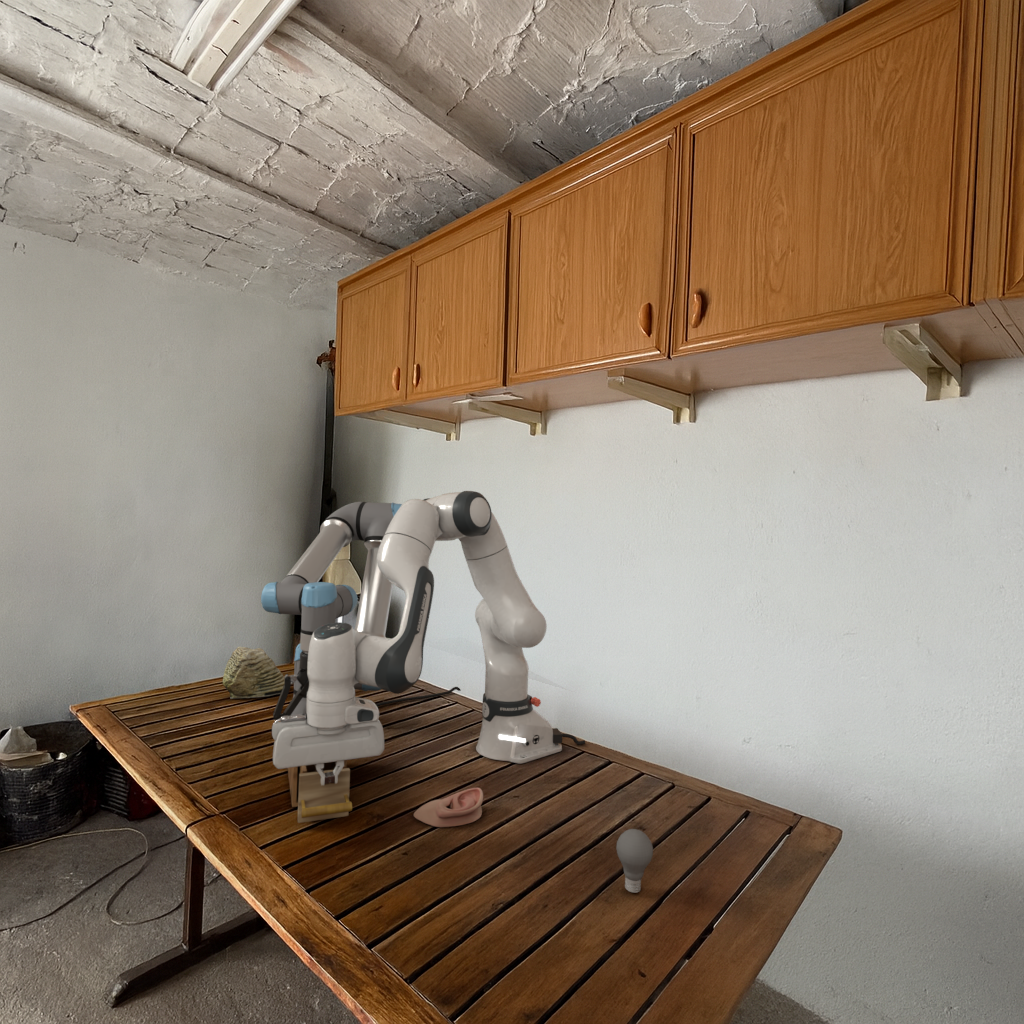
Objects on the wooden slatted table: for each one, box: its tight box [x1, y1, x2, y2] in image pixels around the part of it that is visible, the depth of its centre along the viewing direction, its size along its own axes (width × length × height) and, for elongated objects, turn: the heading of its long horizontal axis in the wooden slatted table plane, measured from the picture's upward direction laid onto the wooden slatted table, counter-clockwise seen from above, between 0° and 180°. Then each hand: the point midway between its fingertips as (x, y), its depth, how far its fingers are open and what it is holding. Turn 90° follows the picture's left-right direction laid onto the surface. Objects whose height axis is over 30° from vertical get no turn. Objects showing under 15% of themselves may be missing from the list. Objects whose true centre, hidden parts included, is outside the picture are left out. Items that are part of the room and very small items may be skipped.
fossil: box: [222, 646, 285, 699], centre depth 198 cm, size 9×18×15 cm, turn 132°
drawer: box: [297, 762, 353, 824], centre depth 128 cm, size 24×9×9 cm, turn 22°
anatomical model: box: [413, 787, 484, 828], centre depth 129 cm, size 13×4×12 cm
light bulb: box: [615, 828, 654, 894], centre depth 106 cm, size 6×6×10 cm
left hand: (313, 746), depth 145 cm, fingers closed on cabinet, 11 cm apart
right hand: (329, 783), depth 120 cm, fingers closed
